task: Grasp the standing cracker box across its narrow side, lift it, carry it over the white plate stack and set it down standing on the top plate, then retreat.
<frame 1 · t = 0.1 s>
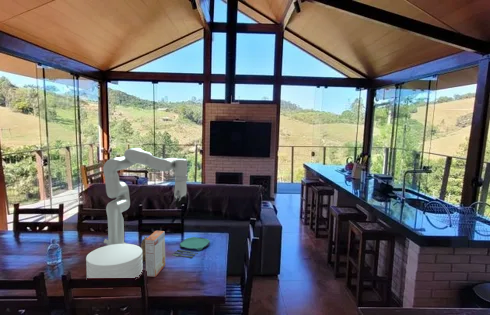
hand: (180, 205, 191), 31 cm above the table, fingers open, 9 cm apart
cutlery set: (191, 248, 202), on the table
walnut pepper mill: (145, 259, 183), on the table
cracker box: (155, 271, 169), on the table
plate stack: (115, 274, 165), on the table
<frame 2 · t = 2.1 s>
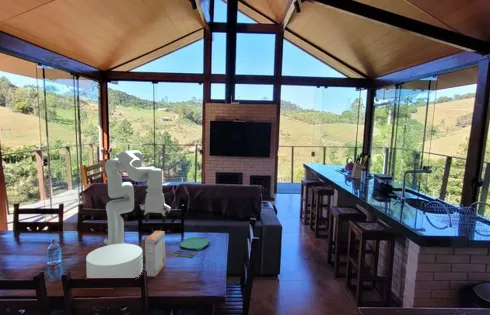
hand: (155, 221, 166), 28 cm above the table, fingers open, 9 cm apart
nothing on the table moved.
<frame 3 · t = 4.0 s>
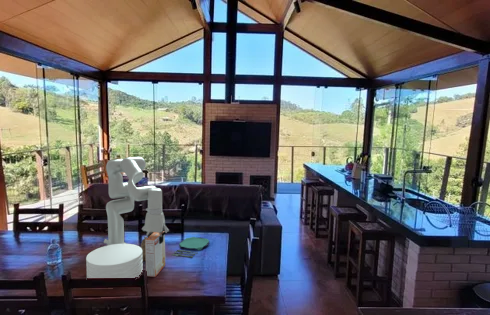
hand: (155, 242, 167), 17 cm above the table, fingers closed on cracker box, 6 cm apart
cracker box: (155, 271, 169), on the table, touching gripper
everything else where it was.
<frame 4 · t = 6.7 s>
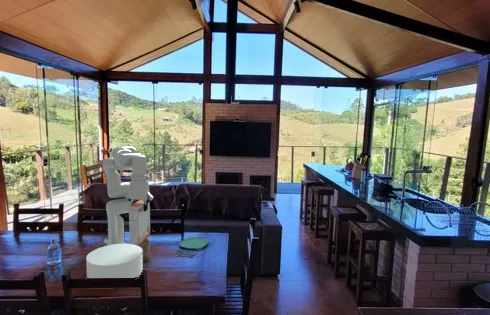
hand: (139, 210, 164), 35 cm above the table, fingers closed on cracker box, 6 cm apart
cracker box: (139, 240, 166), point 18 cm above the table, touching gripper
everything else where it was.
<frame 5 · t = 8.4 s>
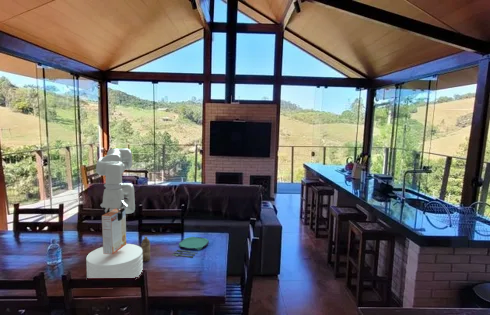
hand: (114, 219, 162), 30 cm above the table, fingers closed on cracker box, 6 cm apart
cracker box: (115, 249, 164), point 14 cm above the table, touching gripper
everything else where it was.
when the fingers open (29 cm above the table, at t = 9.5 s): cracker box drops 1 cm, resting on plate stack.
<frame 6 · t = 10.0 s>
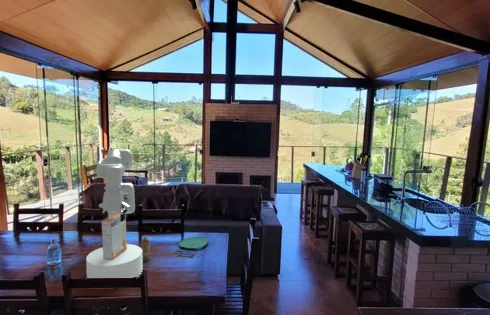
hand: (114, 220, 162), 30 cm above the table, fingers open, 9 cm apart
cracker box: (115, 254, 164), point 11 cm above the table, touching plate stack
plate stack: (115, 274, 165), on the table, touching cracker box
everything else where it was.
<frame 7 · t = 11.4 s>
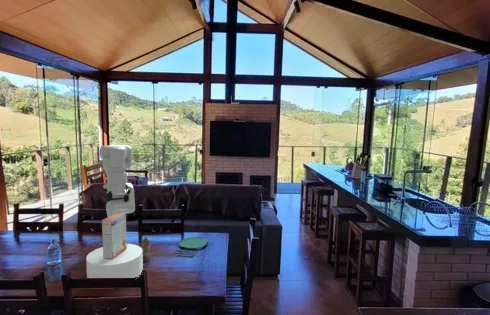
hand: (118, 201, 165), 40 cm above the table, fingers open, 9 cm apart
nothing on the table moved.
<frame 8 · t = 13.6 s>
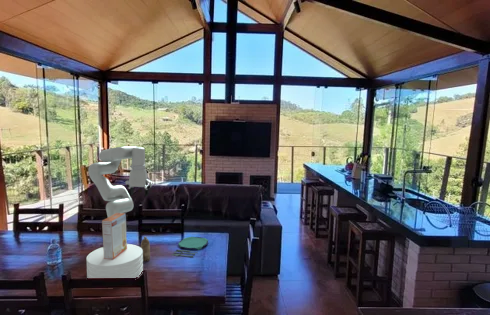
hand: (139, 195, 184), 38 cm above the table, fingers open, 9 cm apart
at the end: cracker box inside the target area in the plate stack (0.1 cm from its centre), point 11.5 cm above the plate stack's base; cracker box touching plate stack; cracker box tilted 0° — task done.
